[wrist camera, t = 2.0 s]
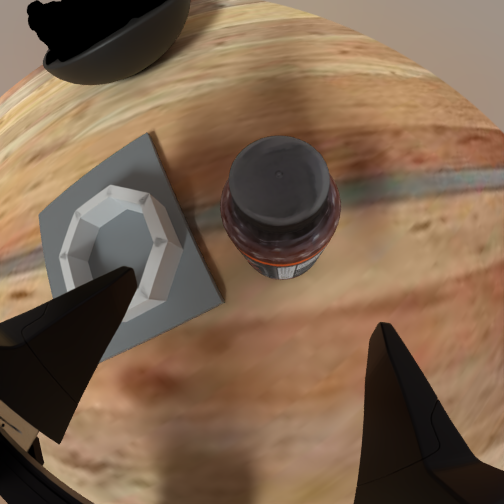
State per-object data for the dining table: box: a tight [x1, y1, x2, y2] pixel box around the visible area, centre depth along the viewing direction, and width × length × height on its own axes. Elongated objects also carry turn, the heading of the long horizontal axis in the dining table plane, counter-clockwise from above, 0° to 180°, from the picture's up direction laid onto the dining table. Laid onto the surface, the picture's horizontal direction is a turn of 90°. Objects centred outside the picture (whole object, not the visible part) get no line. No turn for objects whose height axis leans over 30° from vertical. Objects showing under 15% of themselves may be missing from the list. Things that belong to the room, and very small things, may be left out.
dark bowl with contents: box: [27, 0, 190, 85], centre depth 20 cm, size 20×20×19 cm
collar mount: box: [39, 133, 225, 363], centre depth 21 cm, size 18×16×4 cm
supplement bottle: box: [220, 136, 341, 280], centre depth 16 cm, size 6×6×11 cm
